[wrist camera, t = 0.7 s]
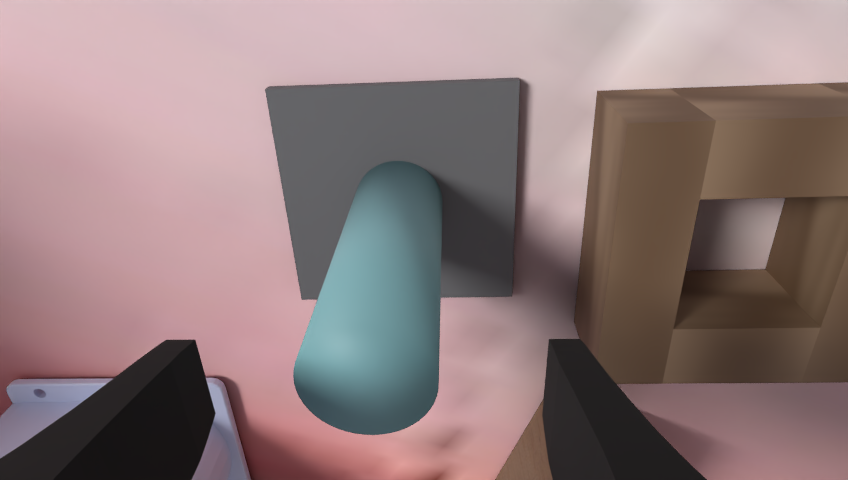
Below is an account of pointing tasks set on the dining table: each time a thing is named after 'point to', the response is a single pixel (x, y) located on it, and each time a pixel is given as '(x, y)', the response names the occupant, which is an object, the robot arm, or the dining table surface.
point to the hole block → (674, 224)
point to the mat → (411, 142)
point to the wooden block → (529, 454)
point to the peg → (378, 309)
